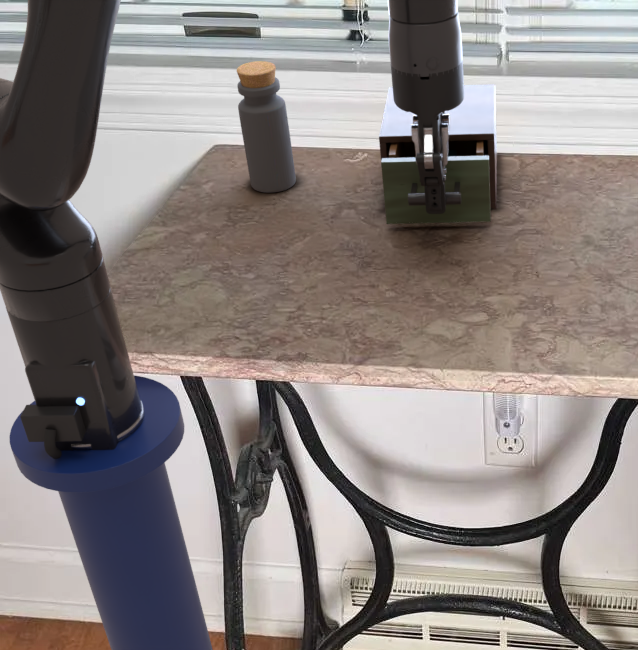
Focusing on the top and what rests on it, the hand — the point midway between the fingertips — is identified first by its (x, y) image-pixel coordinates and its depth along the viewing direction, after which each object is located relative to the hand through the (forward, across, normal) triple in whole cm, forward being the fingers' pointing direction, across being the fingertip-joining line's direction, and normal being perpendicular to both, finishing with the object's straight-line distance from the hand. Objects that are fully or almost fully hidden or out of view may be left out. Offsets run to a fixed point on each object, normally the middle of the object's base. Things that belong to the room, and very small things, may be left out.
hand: (436, 211), depth 134 cm
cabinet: (+5, -18, 0) cm, 19 cm away
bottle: (+5, -19, -22) cm, 30 cm away
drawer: (+4, -11, 0) cm, 12 cm away
